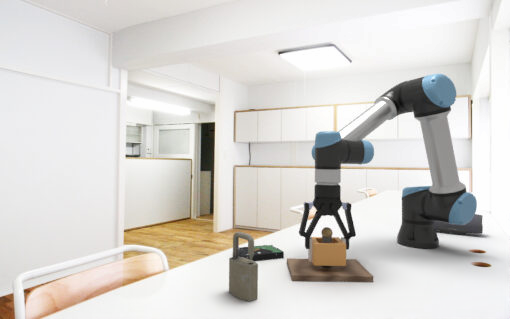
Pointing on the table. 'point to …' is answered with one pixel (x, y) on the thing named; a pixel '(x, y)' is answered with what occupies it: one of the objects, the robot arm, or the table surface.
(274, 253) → the disk drive
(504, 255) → the table surface
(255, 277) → the padlock
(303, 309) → the table surface
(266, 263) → the table surface
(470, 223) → the bluetooth speaker
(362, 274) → the wooden peg board
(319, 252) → the hollow square frame
